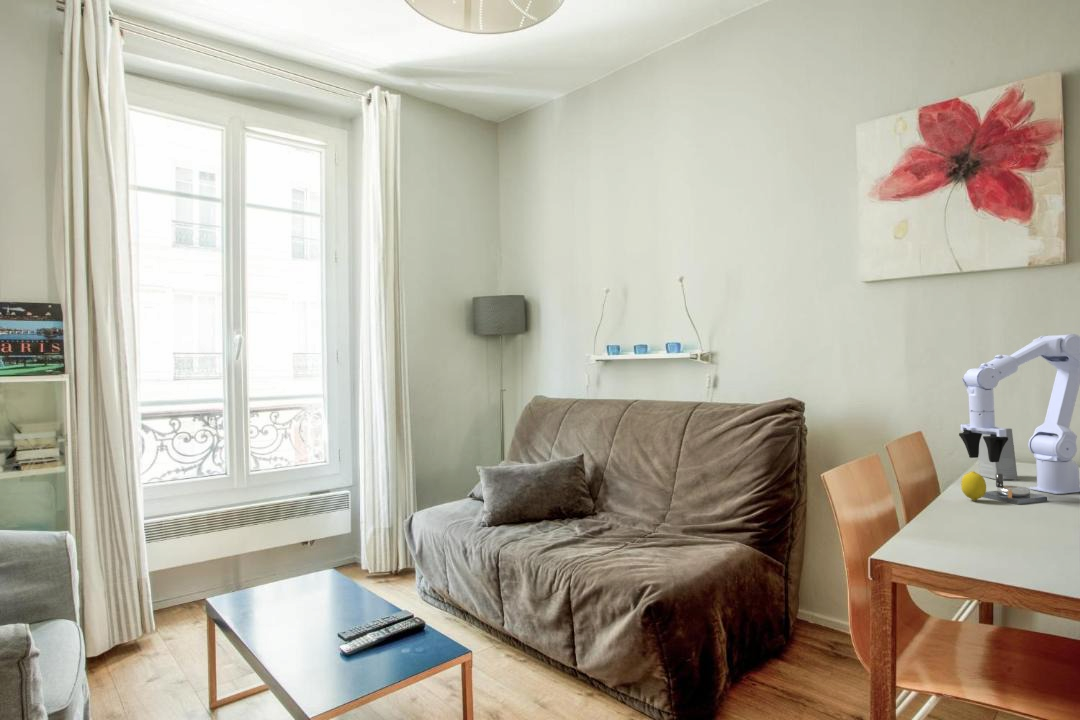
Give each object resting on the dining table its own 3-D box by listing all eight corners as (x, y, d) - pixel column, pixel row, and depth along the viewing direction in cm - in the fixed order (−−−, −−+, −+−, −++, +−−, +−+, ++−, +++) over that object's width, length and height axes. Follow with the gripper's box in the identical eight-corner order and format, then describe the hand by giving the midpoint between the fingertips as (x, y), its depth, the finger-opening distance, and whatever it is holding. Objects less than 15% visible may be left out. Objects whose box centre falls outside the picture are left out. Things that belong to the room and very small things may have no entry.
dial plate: (1010, 493, 172) (1009, 482, 172) (1047, 501, 162) (1046, 489, 162) (981, 496, 169) (981, 485, 169) (1017, 504, 159) (1017, 493, 160)
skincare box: (1018, 480, 188) (1016, 428, 188) (994, 480, 189) (992, 429, 189) (998, 474, 197) (996, 425, 197) (975, 475, 197) (974, 426, 197)
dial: (1011, 490, 170) (1010, 472, 170) (1036, 495, 163) (1036, 476, 163) (990, 492, 168) (990, 474, 168) (1016, 497, 161) (1015, 478, 161)
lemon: (978, 498, 167) (977, 469, 167) (991, 503, 162) (990, 472, 162) (957, 498, 168) (956, 469, 168) (969, 503, 162) (968, 473, 162)
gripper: (949, 409, 178) (951, 456, 178) (987, 413, 164) (989, 464, 164) (973, 408, 179) (975, 455, 179) (1013, 412, 164) (1015, 463, 164)
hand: (983, 459), depth 171 cm, fingers open, 7 cm apart
